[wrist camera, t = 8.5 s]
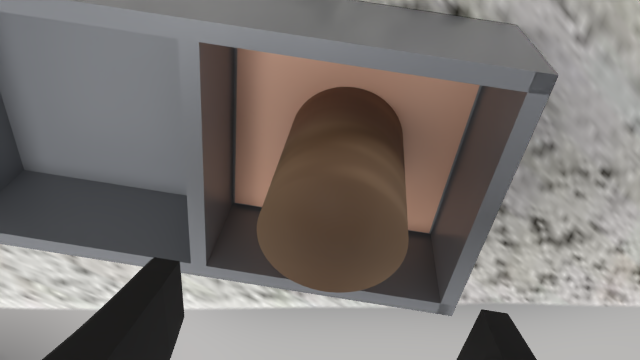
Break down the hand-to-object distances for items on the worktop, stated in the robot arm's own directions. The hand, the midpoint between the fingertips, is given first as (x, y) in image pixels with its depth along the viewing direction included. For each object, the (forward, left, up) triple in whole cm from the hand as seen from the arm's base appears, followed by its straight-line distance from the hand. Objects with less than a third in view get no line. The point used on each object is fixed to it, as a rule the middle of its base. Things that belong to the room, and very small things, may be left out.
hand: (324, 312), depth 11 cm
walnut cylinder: (0, 0, -9) cm, 9 cm away
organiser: (+5, 0, -9) cm, 11 cm away
